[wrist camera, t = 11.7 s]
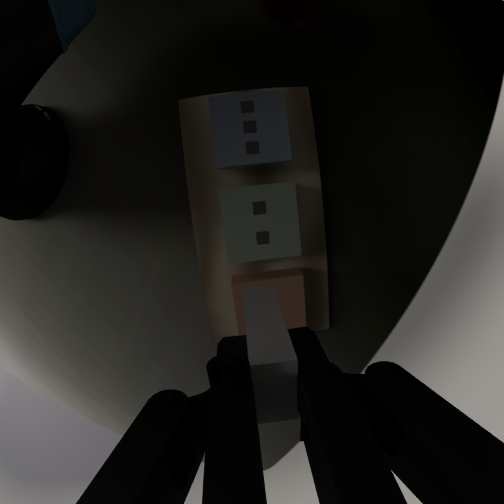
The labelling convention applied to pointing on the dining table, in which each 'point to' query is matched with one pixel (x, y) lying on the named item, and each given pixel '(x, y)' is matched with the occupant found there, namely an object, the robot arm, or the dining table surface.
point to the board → (212, 180)
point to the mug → (291, 10)
